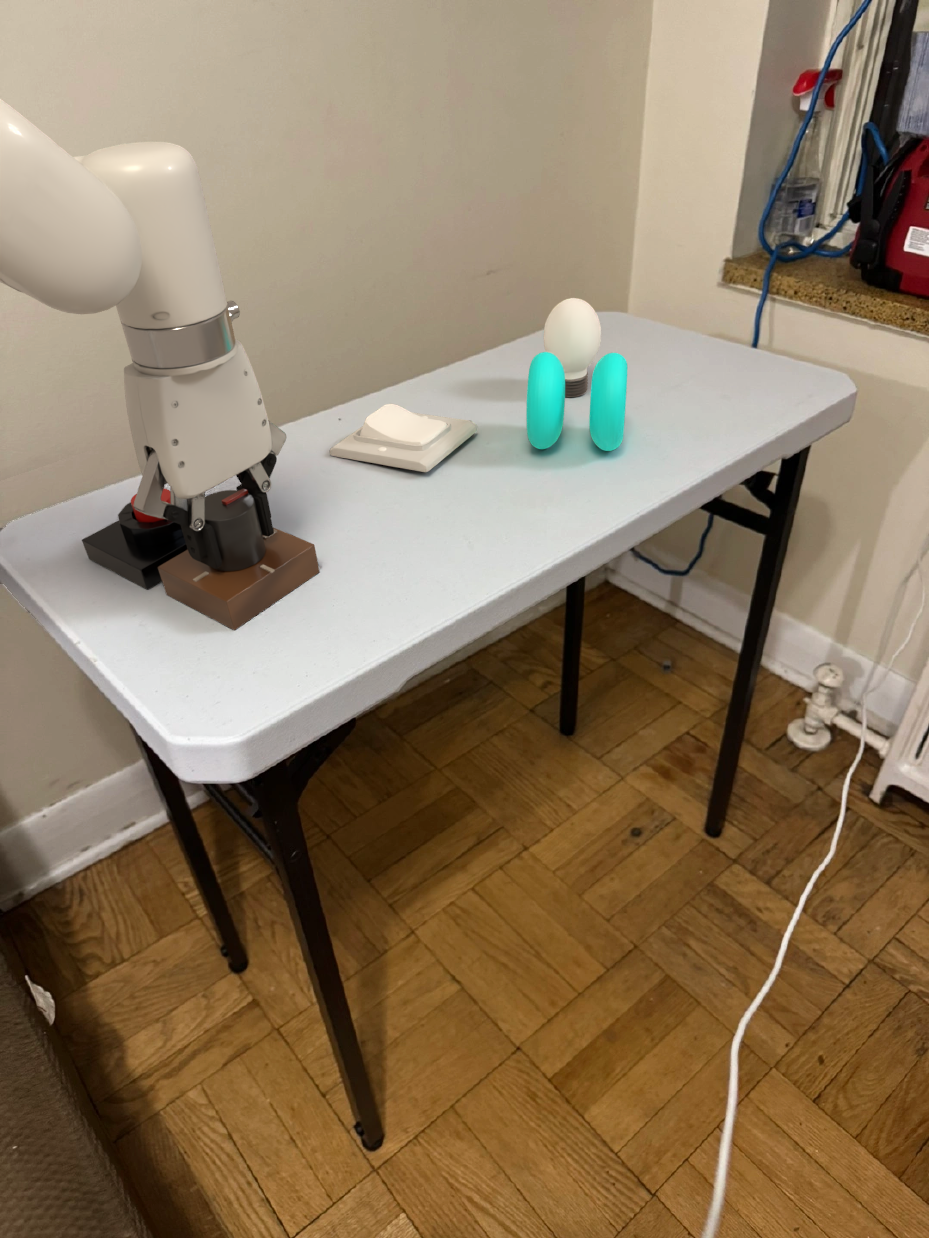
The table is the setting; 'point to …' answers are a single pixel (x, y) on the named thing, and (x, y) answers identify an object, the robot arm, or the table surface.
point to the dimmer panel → (241, 580)
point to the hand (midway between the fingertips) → (233, 544)
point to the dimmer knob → (235, 528)
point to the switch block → (136, 547)
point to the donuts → (550, 401)
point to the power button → (147, 518)
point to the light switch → (404, 439)
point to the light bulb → (573, 341)
